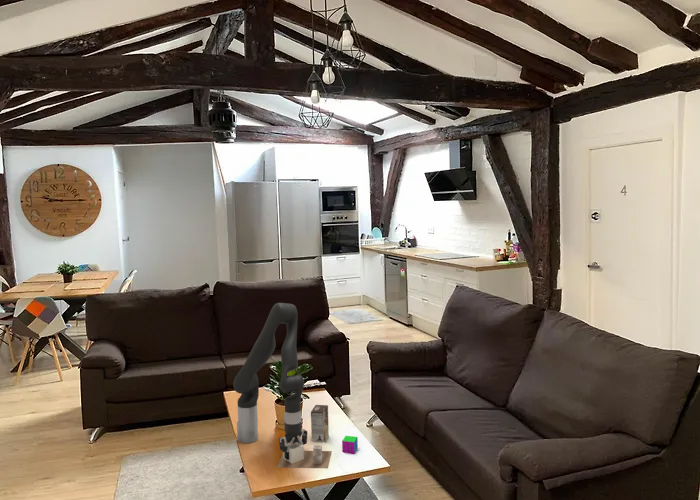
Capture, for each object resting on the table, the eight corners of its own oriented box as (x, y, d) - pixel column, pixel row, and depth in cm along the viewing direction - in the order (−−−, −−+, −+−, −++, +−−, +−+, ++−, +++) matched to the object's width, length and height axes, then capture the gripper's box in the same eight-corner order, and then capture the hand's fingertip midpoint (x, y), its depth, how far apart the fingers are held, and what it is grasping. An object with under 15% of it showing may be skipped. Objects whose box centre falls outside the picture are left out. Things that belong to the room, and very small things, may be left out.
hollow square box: (292, 463, 238) (291, 450, 237) (283, 458, 243) (283, 445, 242) (304, 458, 242) (303, 445, 241) (295, 453, 247) (295, 441, 246)
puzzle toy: (357, 448, 255) (357, 436, 254) (354, 454, 249) (354, 442, 249) (345, 447, 256) (345, 435, 256) (342, 452, 251) (342, 440, 250)
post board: (276, 470, 235) (276, 451, 234) (283, 453, 251) (283, 435, 250) (328, 471, 233) (327, 452, 233) (331, 454, 249) (331, 436, 249)
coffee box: (316, 436, 269) (315, 404, 267) (329, 436, 268) (328, 404, 266) (311, 444, 260) (310, 411, 258) (324, 445, 259) (323, 412, 257)
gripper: (284, 427, 233) (285, 465, 235) (311, 418, 243) (312, 454, 244) (274, 422, 239) (275, 459, 240) (301, 413, 248) (302, 449, 250)
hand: (293, 456), depth 242 cm, fingers closed on hollow square box, 6 cm apart
